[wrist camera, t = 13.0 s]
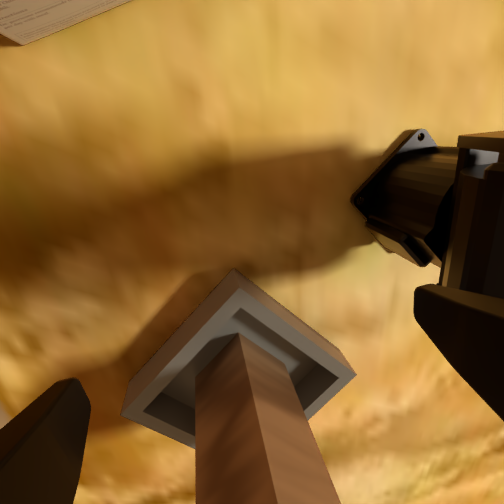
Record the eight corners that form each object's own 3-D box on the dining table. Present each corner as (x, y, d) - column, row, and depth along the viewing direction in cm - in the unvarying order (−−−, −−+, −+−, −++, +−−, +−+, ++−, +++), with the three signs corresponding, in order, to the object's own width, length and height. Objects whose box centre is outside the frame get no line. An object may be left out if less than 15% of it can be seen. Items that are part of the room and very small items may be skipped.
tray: (233, 267, 21) (239, 287, 18) (339, 349, 26) (356, 374, 23) (129, 381, 23) (120, 415, 20) (244, 440, 27) (250, 474, 24)
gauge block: (238, 332, 22) (282, 525, 11) (284, 363, 24) (362, 556, 13) (195, 377, 23) (196, 600, 12) (242, 404, 25) (282, 620, 14)
